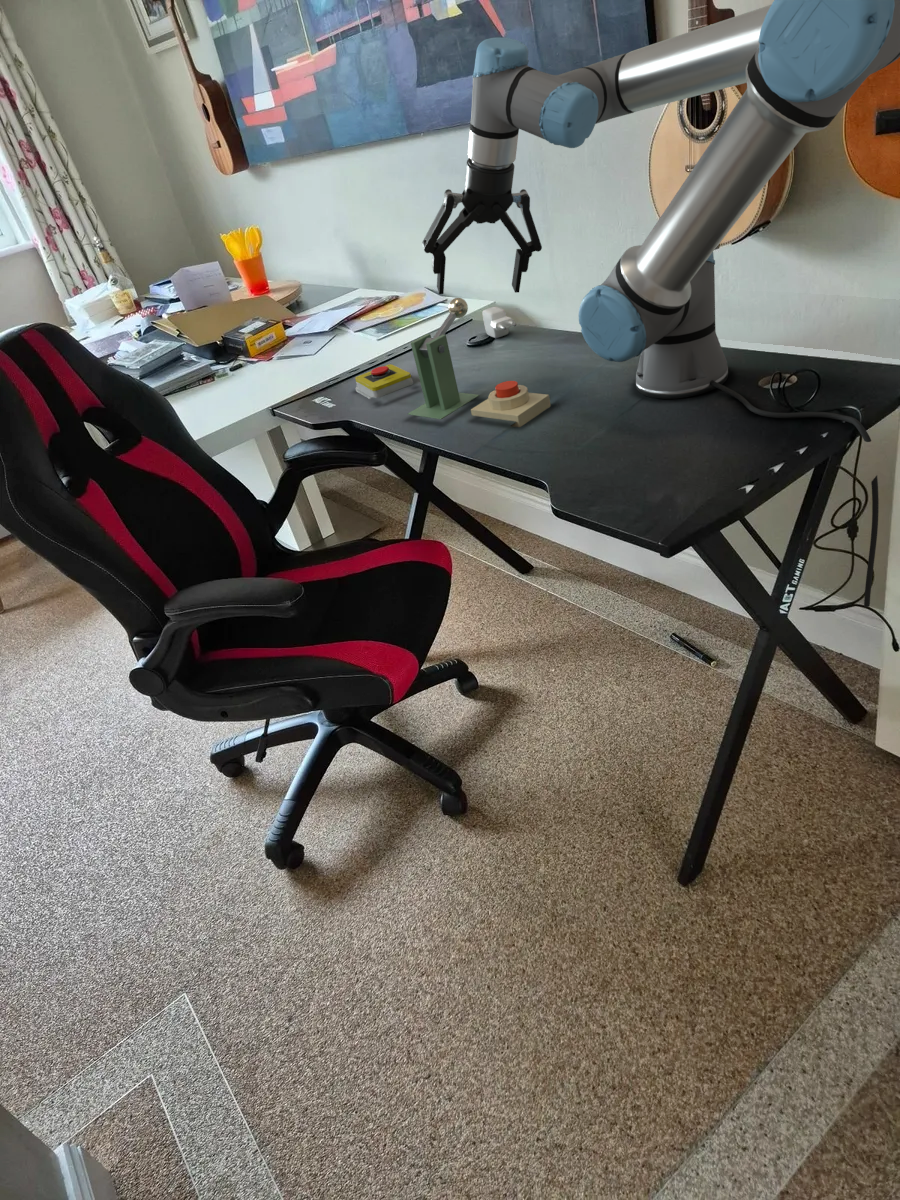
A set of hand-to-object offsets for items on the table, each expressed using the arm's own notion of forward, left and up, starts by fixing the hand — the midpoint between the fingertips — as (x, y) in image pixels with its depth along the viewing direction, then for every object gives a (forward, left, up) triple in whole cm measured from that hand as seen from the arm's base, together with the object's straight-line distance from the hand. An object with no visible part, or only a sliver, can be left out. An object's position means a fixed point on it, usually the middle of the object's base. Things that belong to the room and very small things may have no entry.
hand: (478, 289), depth 137 cm
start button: (-8, +6, -16) cm, 19 cm away
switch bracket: (+7, +8, -20) cm, 22 cm away
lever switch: (+7, +3, -7) cm, 10 cm away
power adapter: (+23, -29, -20) cm, 42 cm away
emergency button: (+29, +3, -20) cm, 35 cm away
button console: (-8, +6, -20) cm, 22 cm away
